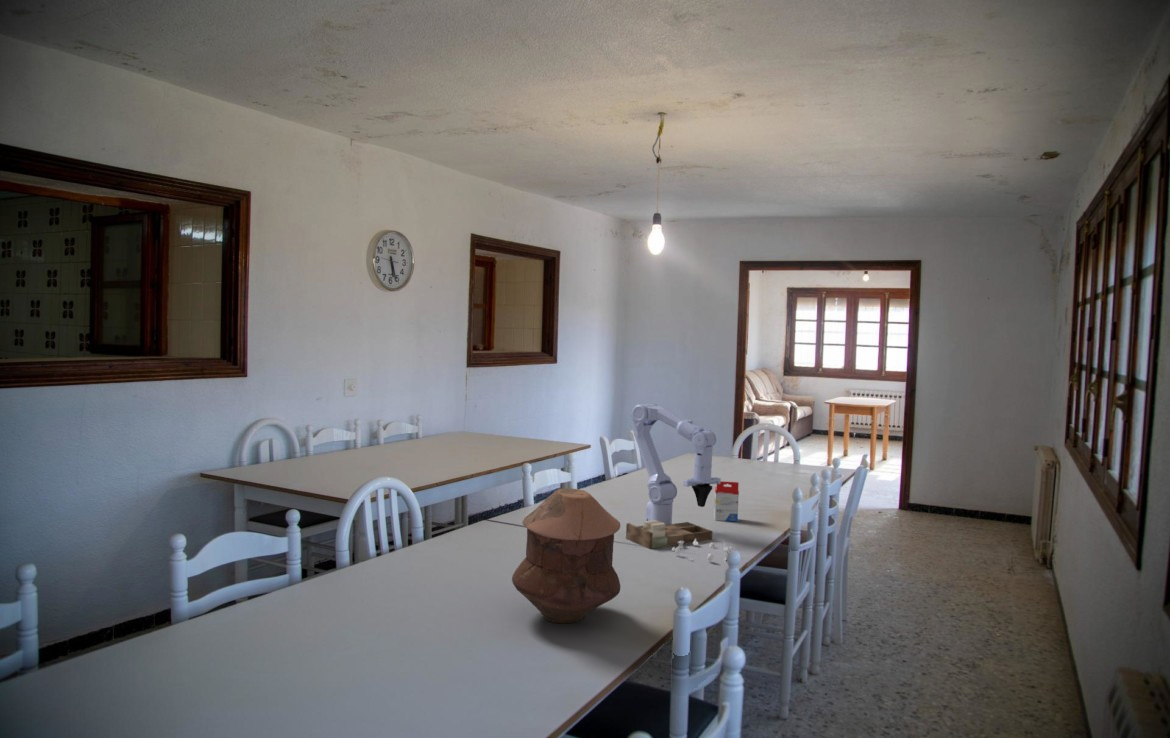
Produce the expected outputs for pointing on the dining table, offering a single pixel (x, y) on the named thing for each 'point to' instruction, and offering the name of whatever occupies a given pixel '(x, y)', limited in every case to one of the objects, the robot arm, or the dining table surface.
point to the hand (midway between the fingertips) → (701, 506)
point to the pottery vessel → (568, 556)
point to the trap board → (668, 535)
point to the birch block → (655, 528)
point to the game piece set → (695, 542)
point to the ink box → (726, 502)
